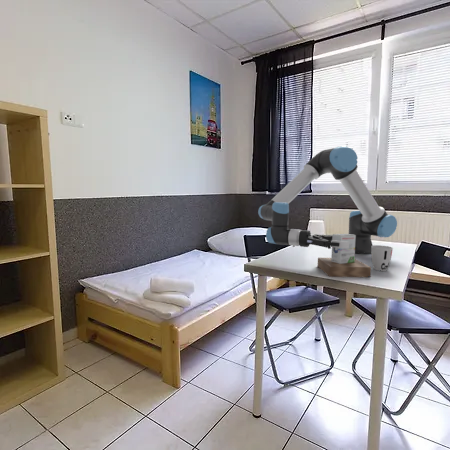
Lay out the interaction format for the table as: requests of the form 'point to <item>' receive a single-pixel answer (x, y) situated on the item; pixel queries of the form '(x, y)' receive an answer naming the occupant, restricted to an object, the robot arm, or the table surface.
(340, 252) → the ink box
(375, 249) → the cup
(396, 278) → the table surface
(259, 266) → the table surface
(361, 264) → the walnut stand
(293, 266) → the table surface
